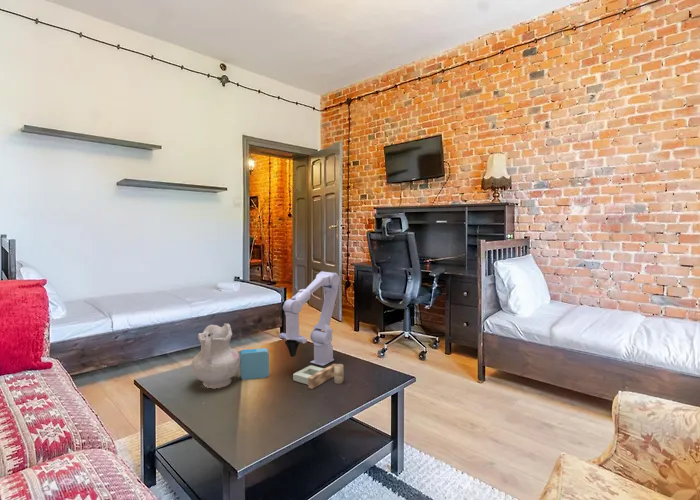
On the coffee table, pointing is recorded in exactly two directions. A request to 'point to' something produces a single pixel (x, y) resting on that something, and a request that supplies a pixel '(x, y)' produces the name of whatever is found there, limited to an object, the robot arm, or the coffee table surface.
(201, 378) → the ceramic pitcher
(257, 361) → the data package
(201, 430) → the coffee table surface
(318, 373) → the oak wall
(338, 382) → the birch dowel
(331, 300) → the robot arm
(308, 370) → the socket block
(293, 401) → the coffee table surface
